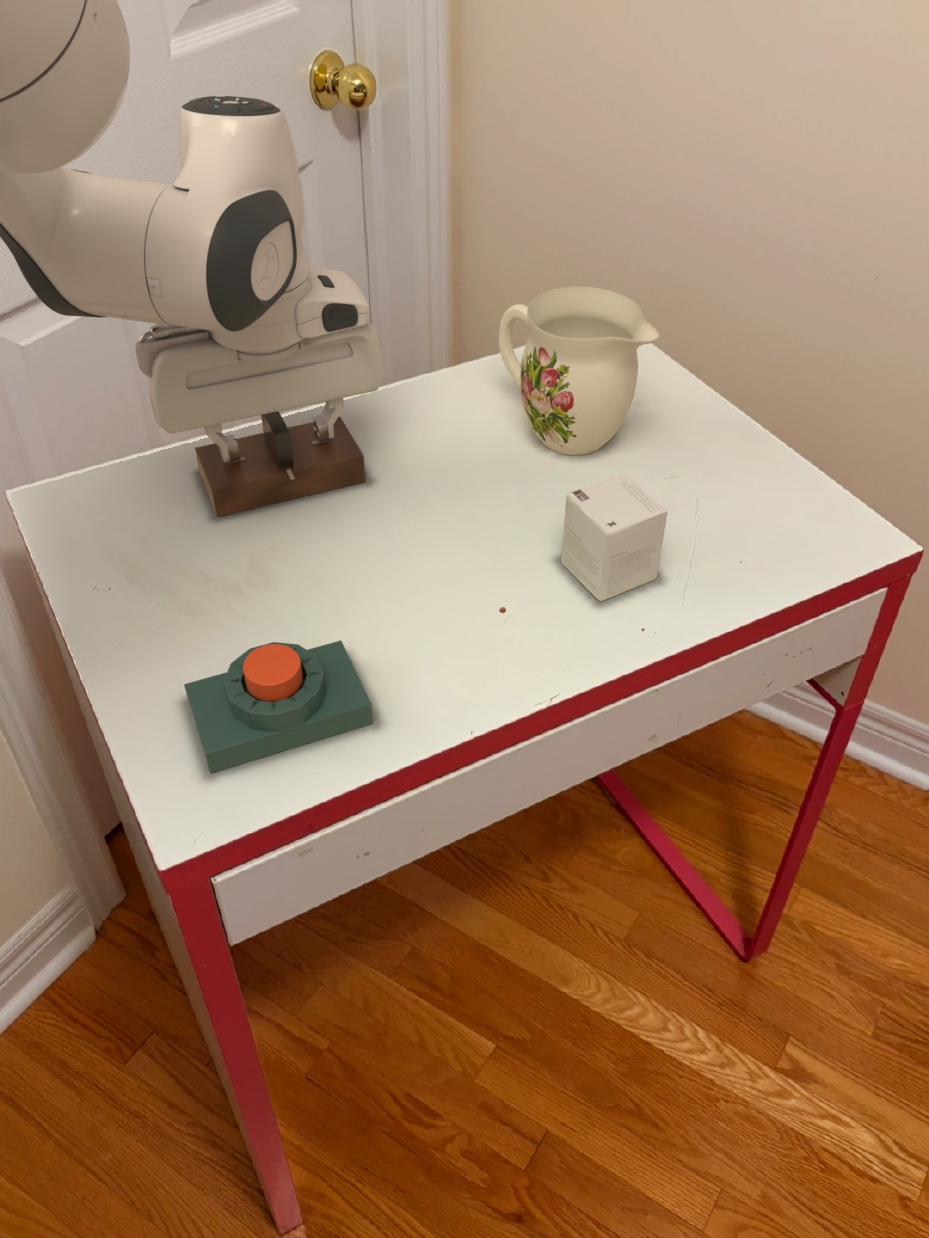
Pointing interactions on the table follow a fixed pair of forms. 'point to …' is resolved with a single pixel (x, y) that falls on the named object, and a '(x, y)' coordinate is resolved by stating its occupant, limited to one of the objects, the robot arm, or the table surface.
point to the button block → (277, 708)
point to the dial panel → (280, 469)
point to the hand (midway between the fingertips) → (278, 447)
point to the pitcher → (576, 364)
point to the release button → (272, 672)
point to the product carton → (612, 536)
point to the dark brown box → (277, 438)
